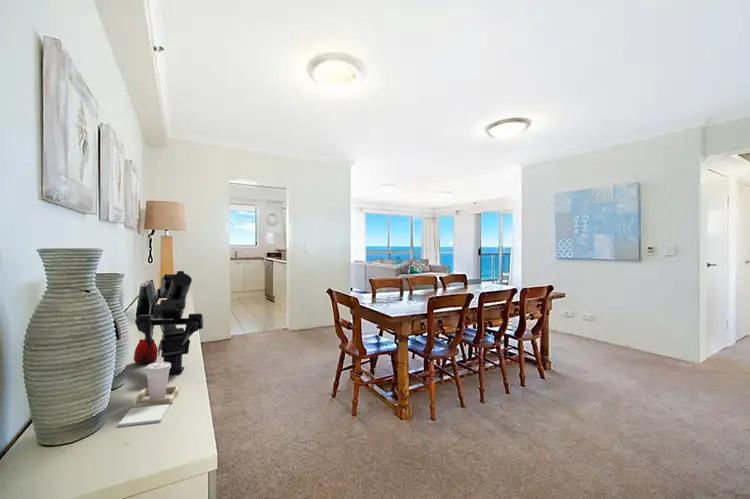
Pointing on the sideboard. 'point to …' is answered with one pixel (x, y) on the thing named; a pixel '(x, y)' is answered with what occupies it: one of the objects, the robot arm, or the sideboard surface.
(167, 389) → the frame
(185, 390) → the sideboard surface
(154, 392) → the smoothie
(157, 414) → the mat
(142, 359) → the red clay folk toy
